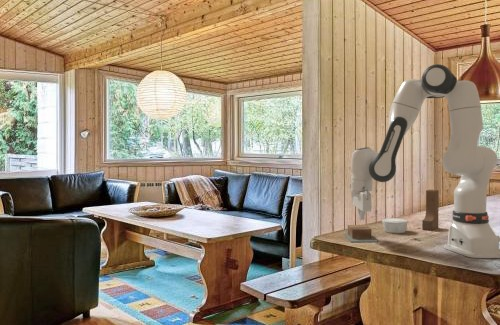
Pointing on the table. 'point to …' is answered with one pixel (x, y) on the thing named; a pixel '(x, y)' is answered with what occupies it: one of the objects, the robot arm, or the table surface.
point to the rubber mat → (360, 239)
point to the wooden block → (431, 210)
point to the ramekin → (394, 225)
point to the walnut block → (359, 231)
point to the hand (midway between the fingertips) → (361, 219)
